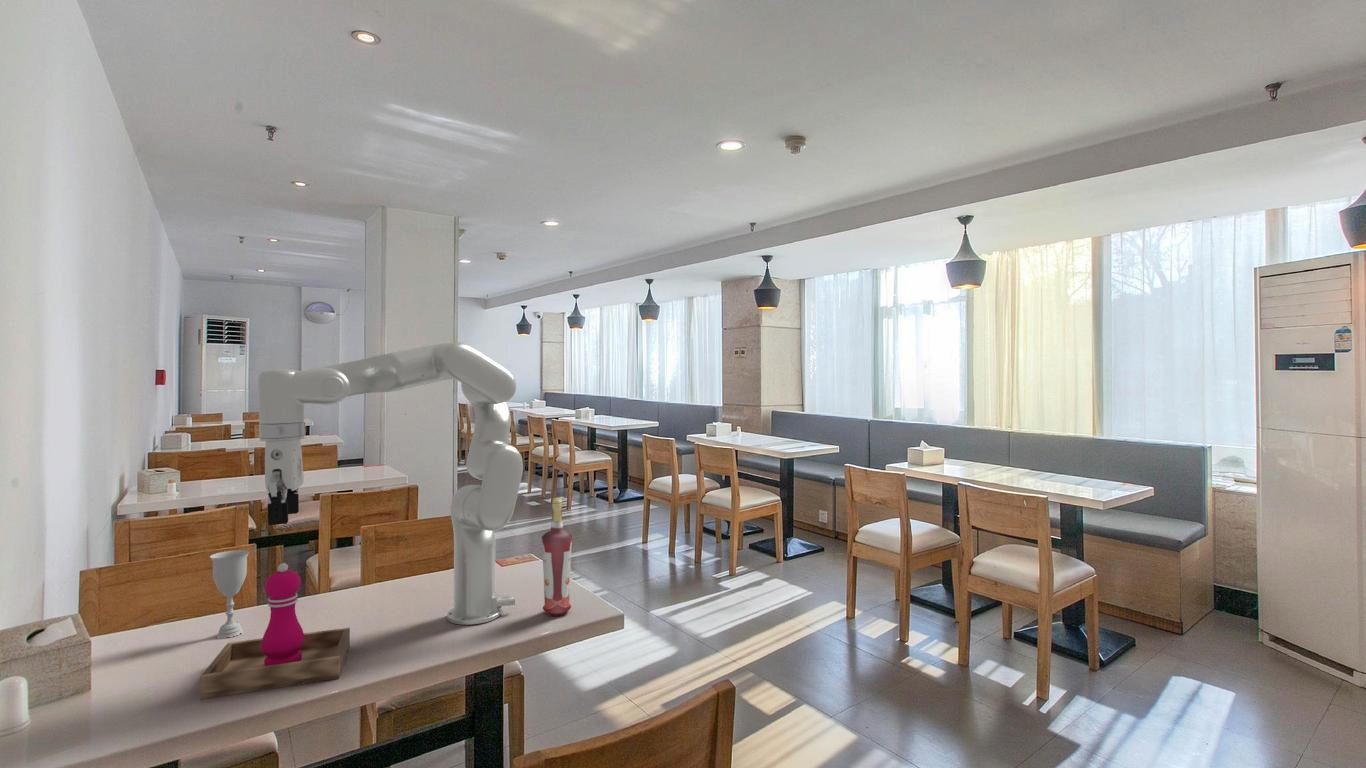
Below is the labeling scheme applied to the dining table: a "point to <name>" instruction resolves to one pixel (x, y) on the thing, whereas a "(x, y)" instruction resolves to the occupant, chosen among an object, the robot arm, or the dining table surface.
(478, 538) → the robot arm
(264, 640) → the pepper mill
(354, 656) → the dining table surface
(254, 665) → the serving tray
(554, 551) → the liquor
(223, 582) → the chalice
